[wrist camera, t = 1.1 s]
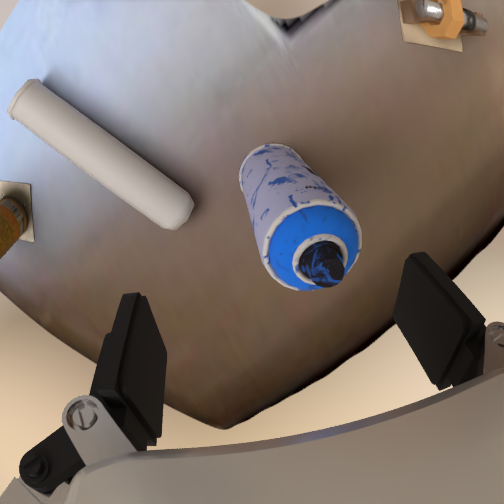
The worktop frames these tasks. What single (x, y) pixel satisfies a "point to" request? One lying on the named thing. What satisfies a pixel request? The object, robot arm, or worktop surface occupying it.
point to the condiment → (14, 215)
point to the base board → (417, 34)
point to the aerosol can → (298, 220)
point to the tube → (100, 155)
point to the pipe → (437, 12)
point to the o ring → (446, 21)
